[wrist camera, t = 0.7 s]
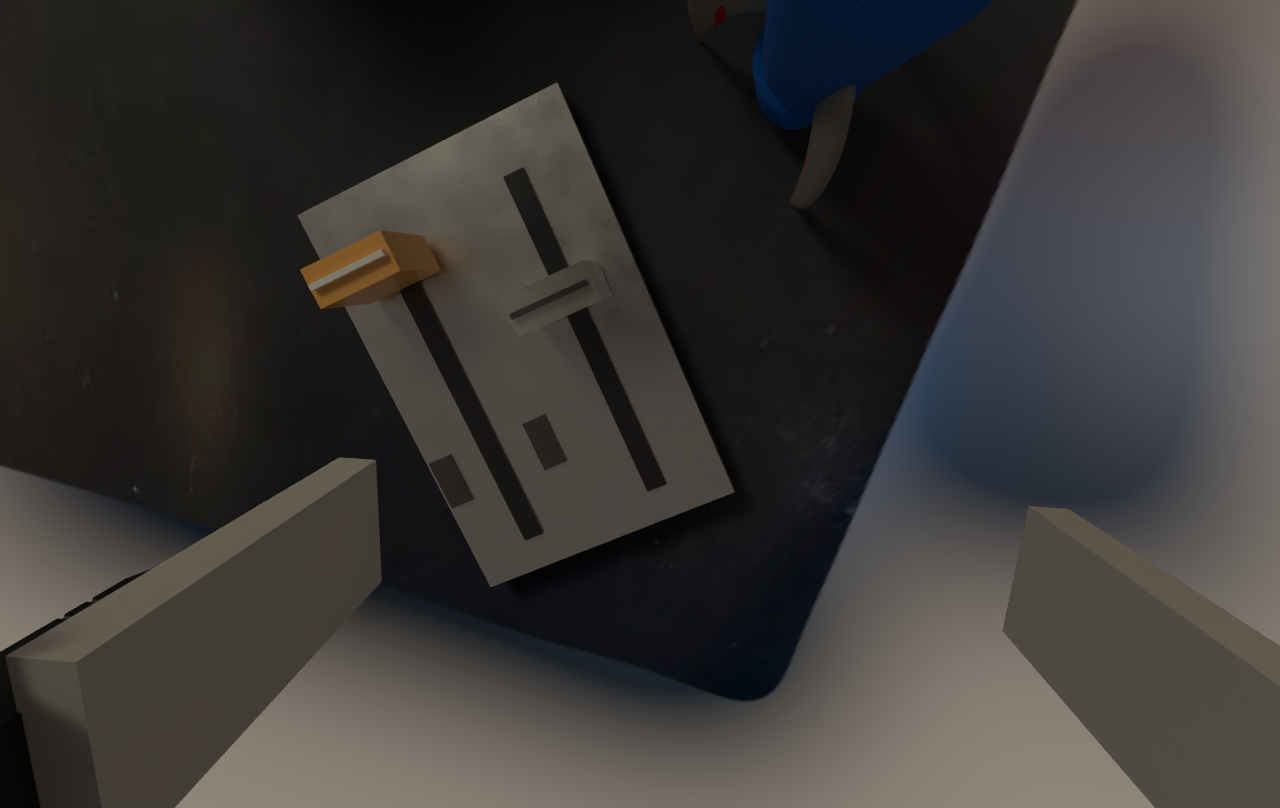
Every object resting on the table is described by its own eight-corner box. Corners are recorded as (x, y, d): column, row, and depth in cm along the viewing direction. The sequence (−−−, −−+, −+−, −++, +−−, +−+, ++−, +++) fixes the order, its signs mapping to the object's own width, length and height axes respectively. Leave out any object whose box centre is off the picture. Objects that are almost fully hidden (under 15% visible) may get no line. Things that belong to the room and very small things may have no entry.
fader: (354, 269, 34) (295, 269, 29) (423, 235, 34) (375, 229, 29) (371, 303, 35) (316, 309, 29) (440, 270, 34) (396, 270, 29)
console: (318, 218, 37) (225, 205, 29) (564, 93, 34) (531, 44, 27) (500, 571, 40) (458, 639, 33) (732, 480, 38) (743, 531, 31)
